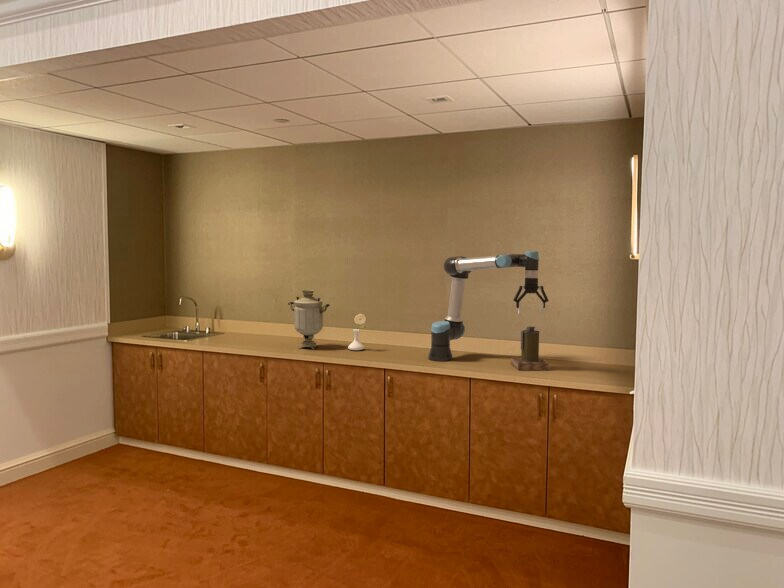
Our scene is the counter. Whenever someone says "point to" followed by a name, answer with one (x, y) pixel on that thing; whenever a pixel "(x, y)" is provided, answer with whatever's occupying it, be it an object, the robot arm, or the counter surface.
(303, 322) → the samovar
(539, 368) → the walnut base
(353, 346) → the flower in vase
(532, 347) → the canister
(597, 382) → the counter surface
